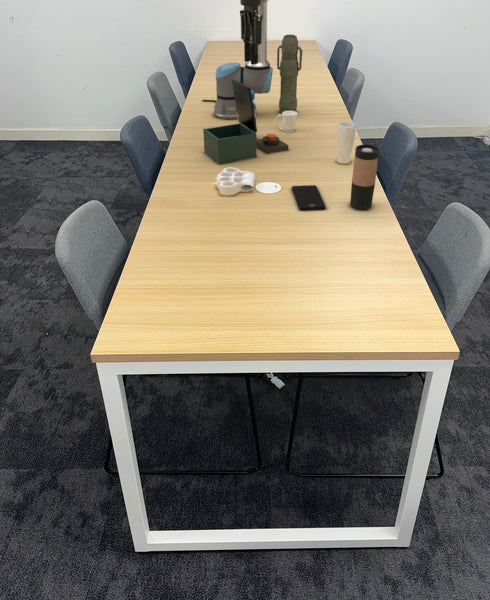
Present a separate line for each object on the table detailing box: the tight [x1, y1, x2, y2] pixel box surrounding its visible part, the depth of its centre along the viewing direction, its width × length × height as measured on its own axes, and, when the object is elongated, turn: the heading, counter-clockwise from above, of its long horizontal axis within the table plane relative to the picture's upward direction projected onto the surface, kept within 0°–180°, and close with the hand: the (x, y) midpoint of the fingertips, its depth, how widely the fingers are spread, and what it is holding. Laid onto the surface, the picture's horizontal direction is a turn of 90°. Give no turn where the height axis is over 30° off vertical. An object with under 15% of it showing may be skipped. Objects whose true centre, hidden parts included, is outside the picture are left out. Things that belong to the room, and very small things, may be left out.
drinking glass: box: [336, 121, 356, 165], centre depth 216 cm, size 7×7×15 cm
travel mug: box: [349, 144, 380, 211], centre depth 181 cm, size 8×8×20 cm
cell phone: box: [291, 184, 327, 211], centre depth 191 cm, size 9×18×1 cm, turn 7°
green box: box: [202, 123, 257, 165], centre depth 222 cm, size 17×15×10 cm
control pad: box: [256, 135, 289, 155], centre depth 231 cm, size 12×10×4 cm
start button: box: [265, 133, 277, 140], centre depth 230 cm, size 4×4×2 cm
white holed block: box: [213, 166, 256, 197], centre depth 199 cm, size 3×18×15 cm
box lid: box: [232, 79, 258, 134], centre depth 217 cm, size 18×15×1 cm
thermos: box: [276, 34, 304, 114], centre depth 264 cm, size 9×12×35 cm
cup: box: [274, 111, 299, 133], centre depth 249 cm, size 7×10×8 cm
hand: (251, 62), depth 209 cm, fingers open, 4 cm apart
